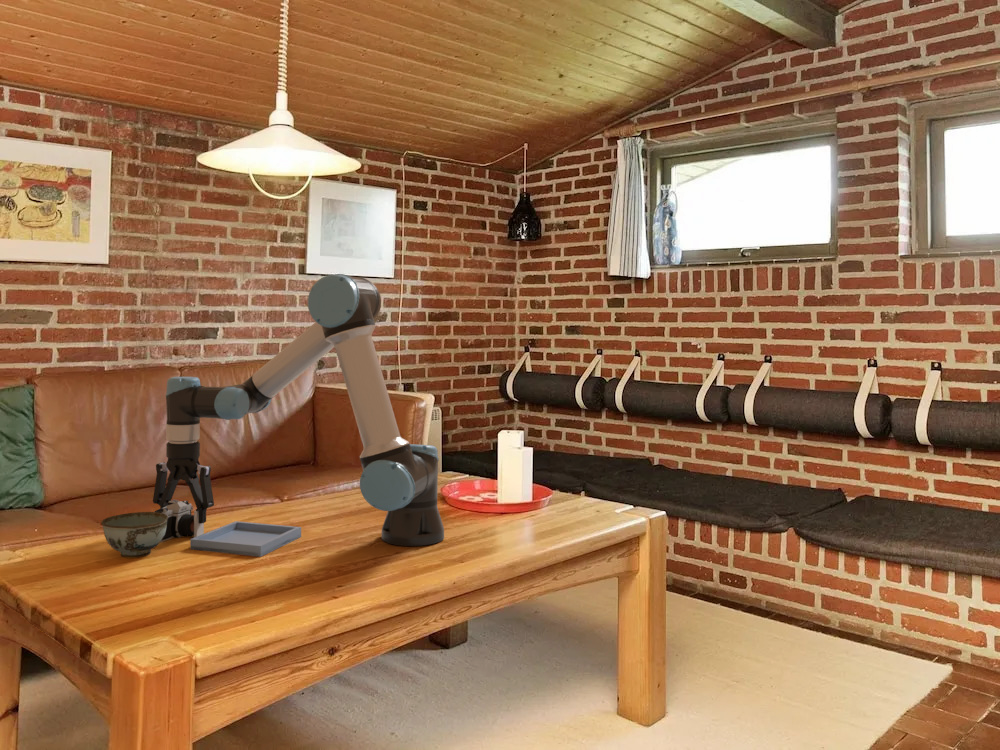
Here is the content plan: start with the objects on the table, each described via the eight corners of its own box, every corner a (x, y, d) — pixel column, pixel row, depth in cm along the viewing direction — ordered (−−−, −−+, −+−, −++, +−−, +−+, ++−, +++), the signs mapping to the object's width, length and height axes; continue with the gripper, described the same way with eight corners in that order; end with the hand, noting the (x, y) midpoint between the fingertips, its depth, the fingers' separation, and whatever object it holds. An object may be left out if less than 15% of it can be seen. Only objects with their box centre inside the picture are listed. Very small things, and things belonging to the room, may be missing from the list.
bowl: (182, 549, 188) (181, 514, 187) (138, 565, 175) (137, 528, 174) (134, 543, 192) (133, 509, 192) (87, 558, 179) (87, 522, 179)
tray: (301, 536, 200) (301, 527, 200) (260, 556, 183) (260, 546, 183) (235, 530, 205) (235, 521, 205) (190, 549, 188) (190, 539, 187)
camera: (177, 545, 191) (179, 506, 191) (147, 542, 193) (150, 503, 193) (208, 535, 204) (210, 499, 204) (180, 532, 206) (182, 496, 206)
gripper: (230, 441, 199) (230, 534, 201) (156, 436, 204) (156, 527, 206) (211, 446, 192) (211, 542, 193) (135, 440, 197) (136, 534, 199)
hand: (183, 534), depth 200 cm, fingers open, 8 cm apart
